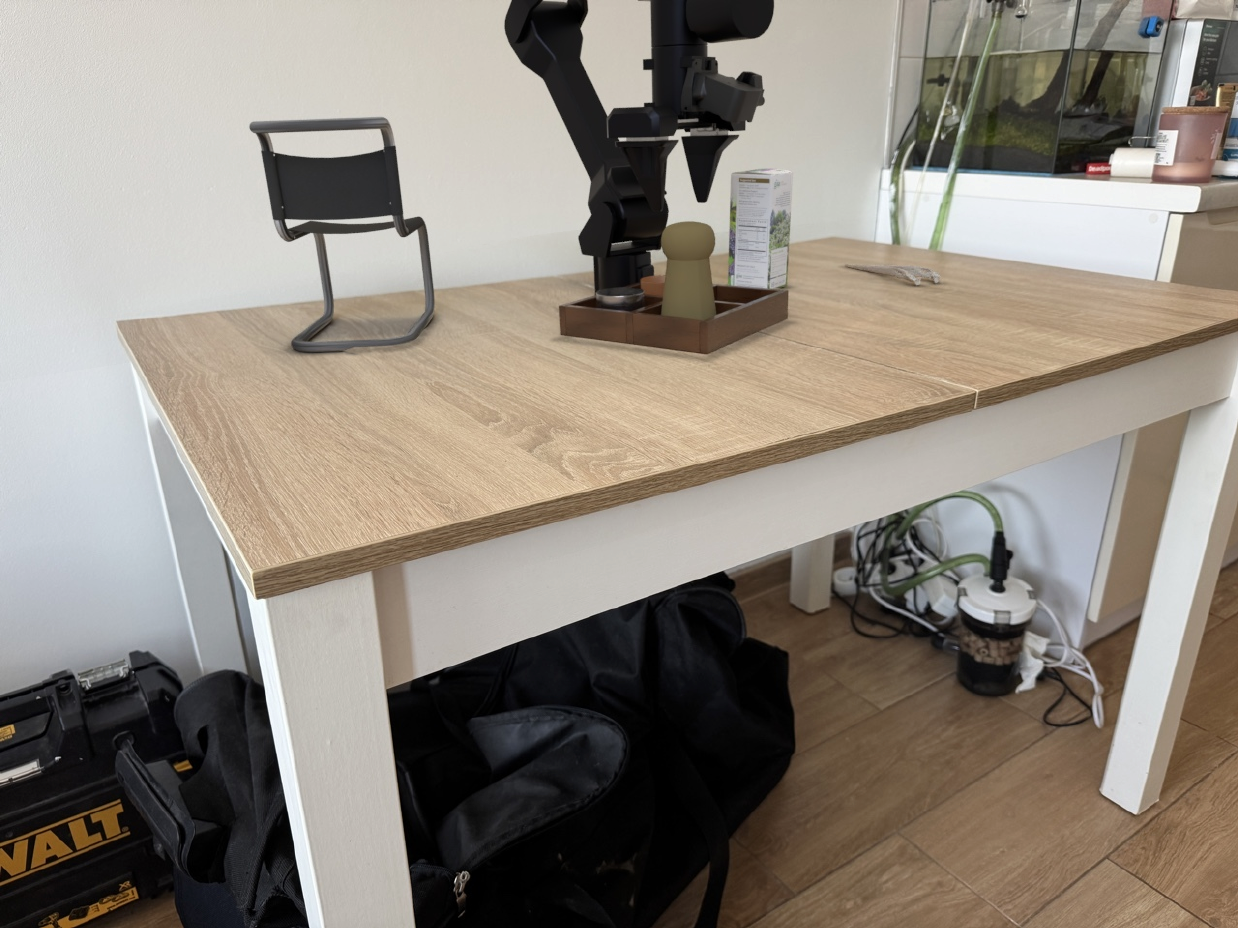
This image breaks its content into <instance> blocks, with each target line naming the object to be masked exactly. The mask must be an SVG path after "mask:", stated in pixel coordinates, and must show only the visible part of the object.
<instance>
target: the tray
mask: <svg viewBox="0 0 1238 928" xmlns="http://www.w3.org/2000/svg"><path fill="white" fill-rule="evenodd" d="M712 284H713V292H714V300H715V308H716V316H713V317H710V318H708V319H705V320H701V319H692V318H683V317H674V316H665V315H661V311H662V302H663V296H661V295H650V294H645V307H643V308H640V309H637V310H634V311H631V312H628V311H619V310H610V309H601V308H596V295H595V294H593V295H590V296H587V297H584V298H581V299H577V300H574V301H570V302H567V303H563V304H560V305H558V315H559V333H560V334H559V335H560V336H564V337H571V338H572V337H573V338H579V339H580V338H581V339H586V340H587V339H588V340H595V341H601V342H602V341H603V342H609V343H617V344H625V345H632V346H639V347H647V348H654V349H655V348H656V349H661V350H671V351H678V352H683V353H684V352H686V353H693V354H701V355H709V354H711V353H714V352H716V351H718V350H720V349H723V348H726V347H727V346H729V345H731V344H734V343H737V342H739V341H741V340H744V339H745V338H747V337H750V336H753V335H754V334H756V333H758V332H761V331H763V330H765V329H768V328H770V327H772V326H775V325H776V324H779V323H781V322H783V321H785V320H788V317H789V315H788V314H789V292H790V291H789V290H788V289H782V288H773V289H769V288H757V287H745V286H733V285H728V284H720V283H712ZM625 287H629V288H639V289H641V282H638V283H635V284H631V285H628V286H625Z"/></svg>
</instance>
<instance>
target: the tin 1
mask: <svg viewBox="0 0 1238 928" xmlns="http://www.w3.org/2000/svg"><path fill="white" fill-rule="evenodd" d="M643 307H645V291H644V290H642V289H639V288H629V287H619V288H608V289H603V290H599V291H597V292H596V308H601V309H610V310H619V311H628V312H631V311H634V310H637V309H640V308H643Z"/></svg>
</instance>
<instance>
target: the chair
mask: <svg viewBox="0 0 1238 928" xmlns="http://www.w3.org/2000/svg"><path fill="white" fill-rule="evenodd" d="M248 129H249V131H251V133H253V134H255V136H256V137H257V139H258V141H259V144H260V149H261V150H260V153H261V158H262V164H263V169H264V175H265V179H266V180H265V181H266V185H267V186H266V187H267V192H268V199H269V204H270V210H271V216H272V220H273V224H274V227H275V230H276V232H277V234H278V236H279V237H280V238H281V239H282V240H283V241H284V242H286V243H290V242H291V243H292V242H293V241H296V240H298V239H300V238H302V237H305V236H307V235H309V234H310V235H311V234H313V239H314V242H315V248H316V255H317V261H318V268H319V275H320V281H321V287H322V295H323V303H324V304H323V305H324V306H323V307H324V308H323V314H322V315H321V316H320V317H319V318H317V319H316V320H315V321H314V322H312V323H311V324H310V325H309V326H308V327H306V328H305V329H303V330H302V331H300V333H298V334H297V335H295V336H294V337H293V338H292V340H291V342H290V345H291V347H292V348H293V350H295V351H297V352H303V353H326V352H328V353H330V352H344V351H347V350H351V349H355V348H374V347H375V348H376V347H389V346H390V347H391V346H397V345H403V344H406V343H410V342H412V341H414V340H416V339H418V337H419V335H420V334H421V332H422V331H423V330H424V329H425V328H427V326H428V324H429V323H430V322H431V320H432V319H433V317H434V315H435V307H436V306H435V305H436V304H435V303H436V302H435V300H436V299H435V288H434V280H433V270H432V262H431V261H432V260H431V250H430V242H429V234H428V228H427V225H426V222H425V220H424V219H423V218H422V216H414V217H409V218H405V217H404V207H403V198H402V191H401V181H400V171H399V164H398V155H397V147H396V143H395V137H394V136H395V135H394V132H393V127H392V126H391V123H390V121H389V119H387V118H386V117H384V116H365V117H337V118H334V117H333V118H312V119H311V118H310V119H309V118H307V119H283V120H256V121H251V122H250V123H249V126H248ZM361 130H362V131H363V130H364V131H365V130H380V134H381V137H382V142H383V149H380V150H375V151H371V152H367V153H362V154H354V155H346V156H336V157H335V156H333V157H311V156H310V157H309V156H300V155H289V154H285V153H280V152H275V151H274V147H273V143H272V139H271V136H270V134H279V133H281V134H283V133H284V134H285V133H307V132H308V133H309V132H311V133H312V132H332V131H333V132H334V131H336V132H337V131H361ZM390 216H391V217H392V221H385V222H371V223H370V222H369V223H339V222H328V221H342V220H360V219H370V218H371V219H373V218H380V217H390ZM286 220H293V221H306V222H303V223H300V224H297V225H295V226H292V227H288V225H287V223H286ZM326 221H327V222H326ZM389 229H390V230H391V229H395V230H396V231H395V232H396V233H397V234H398V236H399V237H400V238H408V237H409V236H410V235H411V234H413V233H414V232H417V236H418V243H419V252H420V260H421V269H422V270H421V271H422V278H423V290H424V300H425V301H424V302H425V303H424V304H425V306H424V312H423V313H422V314H421V316H420V317H419V318H418V319H417V321H416V322H415V323H414V325H413V326H412V327H411V328H410V329H409V331H408V332H407V333H406V334H404V335H399V336H395V337H388V338H371V339H368V338H367V339H348V340H347V339H346V340H345V339H344V340H322V341H321V340H320V341H309V340H310V339H311V338H313V337H314V336H315V335H316V334H318V333H319V332H320V331H321V330H323V329H324V328H325V327H326V326H328V325H329V324H330V323H331V322H332V320H333V318H334V312H335V301H334V300H335V299H334V292H333V285H332V279H331V278H332V277H331V272H330V266H329V259H328V253H327V245H326V240H325V235H351V234H362V233H363V234H364V233H372V232H378V231H379V232H380V231H384V230H385V231H386V230H389Z"/></svg>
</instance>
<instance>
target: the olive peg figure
mask: <svg viewBox="0 0 1238 928" xmlns="http://www.w3.org/2000/svg"><path fill="white" fill-rule="evenodd" d="M715 247H716V236H715V231H714V229H713V228H712V226H711V225H709V224H708V223H705V222H700V221H693V220H691V221H686V220H685V221H679V222H675V223H671V224H668V225H666V228H665V229H664V231H663V233H662V238H661V250H662V254H663V255H664V257H666V267H665V274H664V275H665V284H664V293H663V302H662V311H661V315H665V316H674V317H683V318H692V319H701V320H705V319H708V318H710V317H713V316H716V308H715V300H714V292H713V284H714V283H713V277H712V269H711V260H710V257H711V256H712V254H713V252H714V251H715Z"/></svg>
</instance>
